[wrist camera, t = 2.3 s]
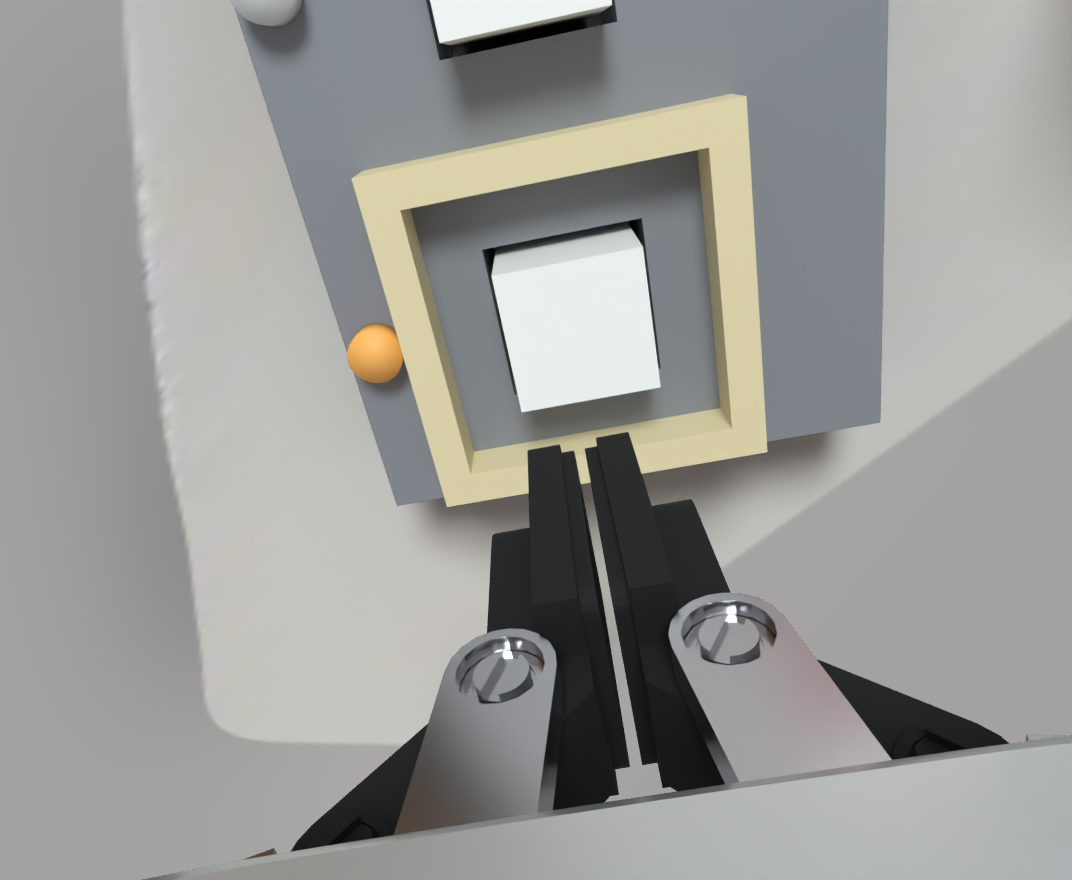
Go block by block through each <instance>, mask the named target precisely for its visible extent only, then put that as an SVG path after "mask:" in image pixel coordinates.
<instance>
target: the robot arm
mask: <svg viewBox="0 0 1072 880" xmlns="http://www.w3.org/2000/svg"><path fill="white" fill-rule="evenodd" d="M596 443H597V446H595V447H590V448H585V454H586V459H587V465H588V470H589V476H590V481H591V487H592V493H593V498H594V504H595V509H596V515H597V520H598V526H599V531H600V537H601V542H602V548H603V553H604V559H605V565H606V570H607V576H608V581H609V587H610V592H611V598H612V603H613V608H614V614H615V619H616V625H617V630H618V636H619V641H620V646H621V652H622V657H623V663H624V667H625V673H626V678H627V684H628V689H629V695H630V700H631V706H632V711H633V716H634V722H635V727H636V732H637V738H638V744H639V749H640V755H641V760H642V765H646V764H652V763H658V767H659V772H660V777H661V782H662V787H663V788H666V787H671V788H673V789H674V790H676V791H678V792H671V793H664V794H659V795H651V796H644V797H638V798H631V799H625V800H619V801H611V802H606V803H604V802H605V801H606V800H607V799H608V798H609V796H613V795H618V794H619V793H618V786H617V779H616V772H615V769H620V768H626V767H630V765H629V758H628V752H627V746H626V740H625V733H624V727H623V722H622V715H621V709H620V704H619V697H618V691H617V684H616V678H615V672H614V666H613V661H612V654H611V648H610V642H609V635H608V629H607V623H606V617H605V611H604V605H603V599H602V593H601V588H600V582H599V577H598V572H597V566H596V561H595V556H594V551H593V546H592V540H591V535H590V530H589V525H588V520H587V514H586V509H585V504H584V499H583V494H582V488H581V483H580V478H579V473H578V467H577V462H576V457H575V452H574V450H573V451H568V452H562V451H561V447H560V444H559V445H553V446H548V447H542V448H537V449H531V450H528V452H527V455H528V489H529V522H530V528H525V529H519V530H513V531H508V532H502V533H496V534H494V535H493V537H492V548H491V568H490V587H489V607H488V626H487V634H484V635H481V636H479V637H476V638H475V639H473V640H472V641H470V642H469V643H467V644H466V645H464V646H463V647H461V649H460V650H459V651H458V652H457V653H456V654H455V655H454V656H453V657H452V658H451V660H450V662H449V664H448V666H447V668H446V670H445V672H444V675H443V678H442V681H441V685H440V688H439V691H438V694H437V697H436V701H435V704H434V707H433V710H432V714H431V717H430V720H429V723H428V724H427V725H426V726H425V727H424V728H423V729H421V730H420V731H419V732H418V733H417V734H416V735H415V736H413V737H412V738H411V739H410V740H409V741H408V742H407V743H405V744H404V745H403V746H402V747H401V748H400V749H399V750H397V751H396V752H395V753H394V754H393V755H392V756H391V757H389V758H388V759H387V760H386V761H385V762H384V763H383V764H381V765H380V766H379V767H378V768H377V769H376V770H375V771H374V772H372V773H371V774H370V775H369V776H368V777H367V778H365V779H364V780H363V781H362V782H361V783H360V784H359V785H357V786H356V787H355V788H354V789H353V790H352V791H351V792H349V793H348V794H347V795H346V796H345V797H344V798H343V799H341V800H340V801H339V802H338V803H337V804H336V805H335V806H334V807H332V808H331V809H330V810H329V811H328V812H327V813H325V814H324V815H323V816H322V817H321V818H320V819H319V820H318V821H316V822H315V823H314V824H313V825H312V826H311V827H310V828H309V829H308V830H307V831H306V832H305V833H304V834H303V836H302V837H301V838H300V839H299V840H298V841H297V842H296V844H295V846H294V847H293V849H292V851H291V852H286V853H280V854H277V853H276V851H275V849H274V848H273V849H270V850H268V851H265V852H262V853H259V854H257V855H254V856H251V857H249V858H246V859H243V860H238V861H233V862H228V863H223V864H218V865H212V866H207V867H202V868H198V869H192V870H188V871H182V872H178V873H172V874H167V875H162V876H157V877H152V878H147V879H142V880H1072V735H1068V736H1065V735H1039V734H1027V736H1026V741H1024V742H1017V743H1011V744H1009V743H1008V742H1007V741H1006V740H1004V739H1003V738H1002V737H1001V736H999V735H998V734H996V733H994V732H992V731H990V730H988V729H986V728H984V727H983V726H981V725H979V724H977V723H974V722H972V721H969V720H967V719H964V718H962V717H959V716H957V715H954V714H952V713H949V712H947V711H945V710H942V709H940V708H937V707H934V706H932V705H930V704H927V703H924V702H922V701H920V700H917V699H914V698H912V697H910V696H907V695H905V694H902V693H899V692H897V691H895V690H892V689H890V688H887V687H884V686H882V685H880V684H877V683H875V682H872V681H870V680H867V679H865V678H862V677H860V676H857V675H855V674H852V673H850V672H847V671H845V670H842V669H840V668H837V667H835V666H832V665H830V664H827V663H825V662H822V661H820V660H817V659H816V658H815V656H814V655H813V654H812V652H811V651H810V650H809V648H808V647H807V646H806V644H805V643H804V642H803V640H802V639H801V638H800V636H799V635H798V634H797V632H796V631H795V630H794V628H793V627H792V626H791V624H790V623H789V622H788V620H787V619H786V618H785V616H784V615H783V614H782V613H781V612H780V611H779V610H778V609H777V608H776V607H774V606H773V605H772V604H770V603H768V602H766V601H764V600H762V599H760V598H758V597H754V596H750V595H746V594H742V593H730V590H729V588H728V585H727V583H726V581H725V578H724V576H723V573H722V571H721V568H720V566H719V563H718V561H717V558H716V556H715V554H714V551H713V549H712V546H711V544H710V541H709V539H708V536H707V534H706V532H705V529H704V527H703V524H702V522H701V519H700V517H699V514H698V512H697V510H696V507H695V505H694V503H693V501H692V500H691V499H690V500H684V501H678V502H672V503H667V504H661V505H655V506H651V503H650V500H649V496H648V493H647V490H646V487H645V483H644V480H643V477H642V474H641V471H640V467H639V464H638V461H637V458H636V454H635V451H634V448H633V445H632V441H631V438H630V435H629V432H624V433H619V434H613V435H608V436H602V437H597V438H596Z"/></svg>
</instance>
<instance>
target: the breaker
mask: <svg viewBox="0 0 1072 880" xmlns="http://www.w3.org/2000/svg"><path fill="white" fill-rule="evenodd" d="M430 2H431V7H432V11H433V16H434V20H435V25H436V29H437V34H438V38H439V43H442V44H446V45H451V46H459V45H464V44H468V43H473V42H477V41H482V40H486V39H491V38H496V37H500V36H505V35H509V34H514V33H518V32H523V31H527V30H532V29H536V28H541V27H546V26H550V25H555V24H559V23H564V22H568V21H573V20H577V19H582V18H586V17H591V16H596V15H598V14H600V13H601V12H603V11H604V10H605V9H607V8H608V7H610V6H611V5H612V0H430Z"/></svg>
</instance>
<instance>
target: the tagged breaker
mask: <svg viewBox="0 0 1072 880" xmlns="http://www.w3.org/2000/svg"><path fill="white" fill-rule="evenodd" d="M491 277H492V281H493V286H494V290H495V295H496V299H497V304H498V308H499V313H500V317H501V322H502V326H503V331H504V335H505V340H506V344H507V349H508V353H509V358H510V362H511V367H512V371H513V376H514V380H515V385H516V389H517V394H518V398H519V403H520V407H521V412H527V411H532V410H538V409H543V408H549V407H554V406H560V405H566V404H571V403H577V402H582V401H588V400H593V399H599V398H604V397H610V396H615V395H621V394H627V393H632V392H638V391H643V390H649V389H654V388H660V387H661V386H660V378H659V370H658V362H657V354H656V346H655V338H654V330H653V323H652V315H651V307H650V299H649V291H648V283H647V275H646V267H645V259H644V252H643V246H642V245H641V243H640V241H639V240H638V238H637V237H636V235H635V234H634V232H633V230H632V229H631V227H630V226H629V224H628V222H627V221H625V222H620V223H615V224H610V225H605V226H600V227H595V228H589V229H584V230H579V231H574V232H569V233H564V234H559V235H554V236H549V237H544V238H539V239H534V240H529V241H524V242H519V243H514V244H509V245H504V246H499V247H496V252H495V258H494V264H493V270H492V276H491Z"/></svg>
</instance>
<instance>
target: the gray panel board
mask: <svg viewBox="0 0 1072 880" xmlns="http://www.w3.org/2000/svg"><path fill="white" fill-rule="evenodd" d="M230 1H231V3H232V4H233V6H234V7H235V10H236V14H237V17H238V20H239V23H240V26H241V29H242V32H243V35H244V38H245V41H246V44H247V47H248V50H249V53H250V56H251V60H252V63H253V66H254V69H255V72H256V75H257V78H258V81H259V84H260V87H261V90H262V93H263V96H264V99H265V102H266V105H267V109H268V112H269V115H270V118H271V121H272V124H273V127H274V130H275V133H276V136H277V139H278V142H279V145H280V148H281V151H282V155H283V158H284V161H285V164H286V167H287V170H288V173H289V176H290V179H291V182H292V185H293V188H294V191H295V194H296V197H297V200H298V204H299V207H300V210H301V213H302V216H303V219H304V222H305V225H306V228H307V231H308V234H309V237H310V240H311V243H312V246H313V249H314V253H315V256H316V259H317V262H318V265H319V268H320V271H321V274H322V277H323V280H324V283H325V286H326V289H327V292H328V295H329V299H330V302H331V305H332V308H333V311H334V314H335V317H336V320H337V323H338V326H339V329H340V332H341V335H342V338H343V341H344V344H345V348H346V351H347V358H348V363H349V365H350V367H351V369H352V370H353V372H354V375H355V378H356V381H357V384H358V387H359V390H360V394H361V397H362V400H363V403H364V406H365V409H366V412H367V415H368V418H369V421H370V424H371V427H372V430H373V433H374V436H375V439H376V443H377V446H378V449H379V452H380V455H381V458H382V461H383V464H384V467H385V470H386V473H387V476H388V479H389V482H390V485H391V489H392V492H393V495H394V498H395V501H396V504H397V506H399V505H405V504H410V503H416V502H422V501H428V500H434V499H439V498H444V499H445V502H446V505H447V507H451V506H457V505H463V504H469V503H474V502H480V501H486V500H492V499H498V498H504V497H509V496H515V495H521V494H527V493H529V489H528V455H527V452H528V450H531V449H537V448H542V447H548V446H553V445H559V444H560V447H561V451H562V452H568V451H573V450H574V452H575V457H576V462H577V467H578V473H579V478H580V483H581V484H585V483H591V481H590V476H589V470H588V465H587V459H586V454H585V448H590V447H595V446H597V443H596V438H597V437H602V436H608V435H613V434H619V433H624V432H629V435H630V438H631V441H632V445H633V448H634V451H635V454H636V458H637V461H638V464H639V467H640V471H641V474H643V473H649V472H655V471H661V470H667V469H673V468H678V467H684V466H690V465H696V464H702V463H708V462H713V461H719V460H725V459H731V458H737V457H742V456H748V455H754V454H760V453H766V452H767V442H770V441H775V440H781V439H787V438H793V437H799V436H804V435H810V434H816V433H822V432H827V431H833V430H839V429H845V428H851V427H856V426H862V425H868V424H874V423H880V414H881V361H882V307H883V254H884V200H885V147H886V93H887V40H888V0H612V5H611V6H610V7H608V8H607V9H605V10H604V11H603V12H601V17H602V25H599V26H595V27H590V28H585V29H581V30H576V31H572V32H567V33H563V34H558V35H553V36H549V37H544V38H540V39H535V40H531V41H526V42H522V43H517V44H512V45H508V46H503V47H499V48H494V49H490V50H485V51H480V52H476V53H471V54H467V55H462V56H458V57H452V52H451V48H450V45H446V44H442V43H439V38H438V34H437V29H436V25H435V20H434V16H433V11H432V7H431V2H430V0H230ZM625 221H629V226H630V227H631V229H632V230H633V232H634V234H635V235H636V237H637V238H638V240H639V241H640V243H641V245H642V246H643V252H644V259H645V267H646V275H647V283H648V291H649V299H650V307H651V315H652V323H653V330H654V338H655V346H656V354H657V362H658V370H659V378H660V386H661V387H660V388H654V389H649V390H643V391H638V392H632V393H627V394H621V395H615V396H610V397H604V398H599V399H593V400H588V401H582V402H577V403H571V404H566V405H560V406H554V407H549V408H543V409H538V410H532V411H527V412H521V407H520V403H519V398H518V394H517V389H516V385H515V380H514V376H513V371H512V367H511V362H510V358H509V353H508V349H507V344H506V340H505V335H504V331H503V326H502V322H501V317H500V313H499V308H498V304H497V299H496V295H495V290H494V286H493V281H492V277H491V276H492V270H493V264H494V258H495V251H494V247H499V246H504V245H509V244H514V243H519V242H524V241H529V240H534V239H539V238H544V237H549V236H554V235H559V234H564V233H569V232H574V231H579V230H584V229H589V228H595V227H600V226H605V225H610V224H615V223H620V222H625Z"/></svg>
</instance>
